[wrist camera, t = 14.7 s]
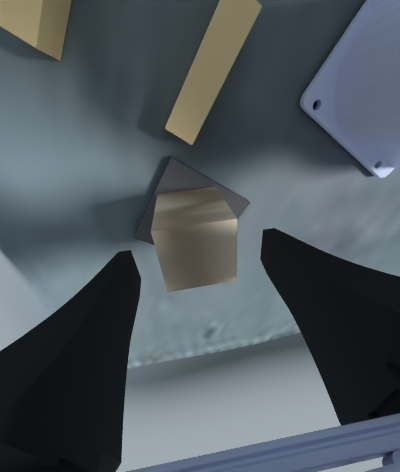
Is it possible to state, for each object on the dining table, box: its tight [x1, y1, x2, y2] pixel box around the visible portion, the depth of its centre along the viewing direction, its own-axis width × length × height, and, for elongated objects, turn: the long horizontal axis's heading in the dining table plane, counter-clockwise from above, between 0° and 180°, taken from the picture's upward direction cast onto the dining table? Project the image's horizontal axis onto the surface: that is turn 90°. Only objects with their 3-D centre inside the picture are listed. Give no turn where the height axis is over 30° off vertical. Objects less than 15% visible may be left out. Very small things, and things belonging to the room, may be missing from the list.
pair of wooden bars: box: [0, 0, 262, 145], centre depth 8 cm, size 9×6×2 cm
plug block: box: [151, 186, 237, 292], centre depth 12 cm, size 4×4×5 cm
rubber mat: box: [134, 156, 250, 245], centre depth 14 cm, size 6×6×1 cm
